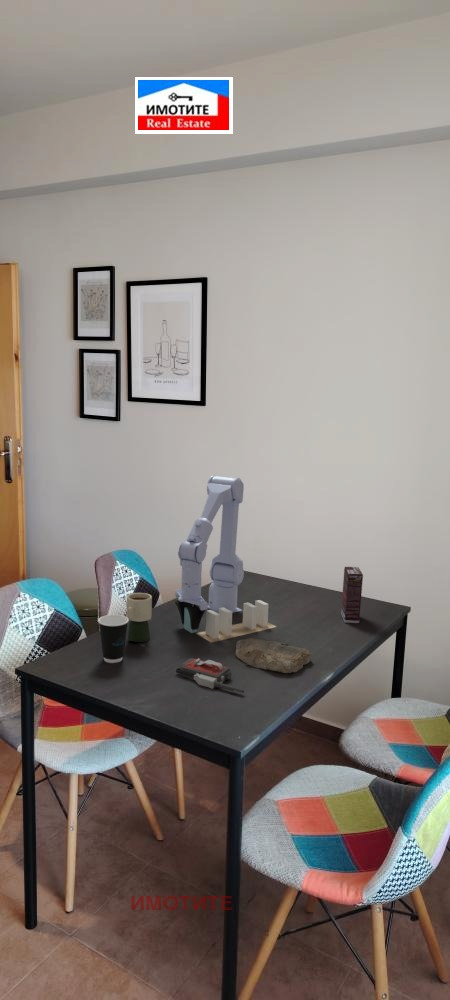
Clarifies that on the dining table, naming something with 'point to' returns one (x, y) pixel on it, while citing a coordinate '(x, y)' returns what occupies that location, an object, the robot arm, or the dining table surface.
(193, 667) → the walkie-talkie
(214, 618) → the domino
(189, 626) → the teal domino
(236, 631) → the oak board
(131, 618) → the character mug
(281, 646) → the rough brown rock
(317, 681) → the dining table surface
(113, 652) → the dixie cup
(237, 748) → the dining table surface
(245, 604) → the domino
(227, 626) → the domino
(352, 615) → the supplement box
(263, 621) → the domino
